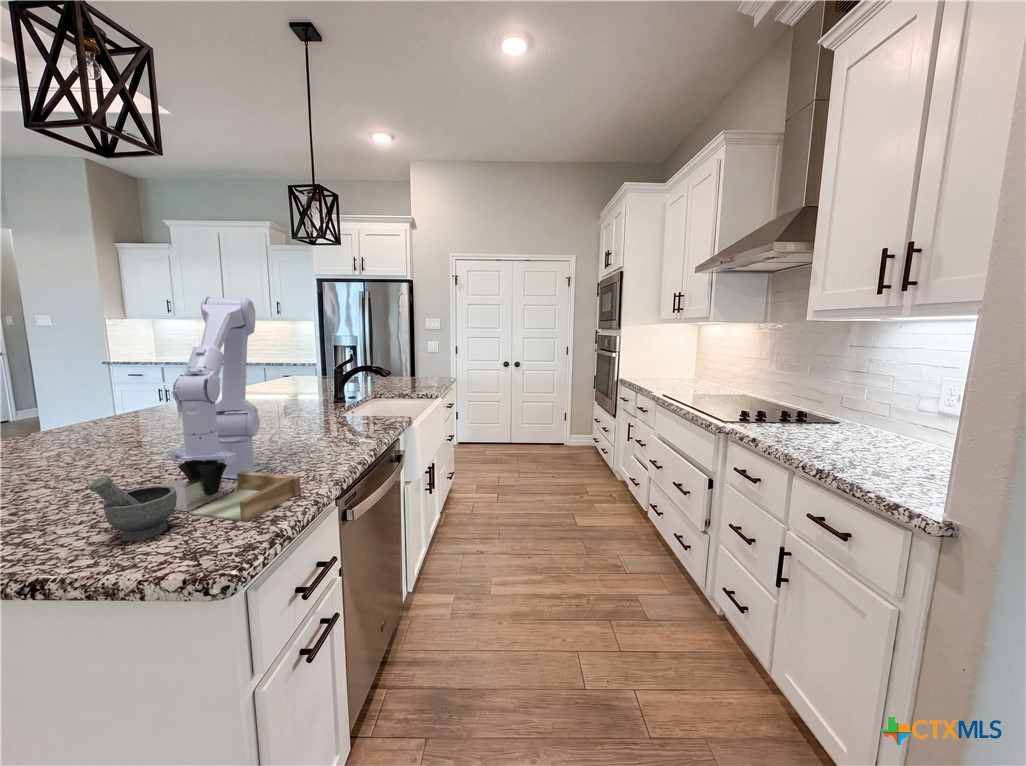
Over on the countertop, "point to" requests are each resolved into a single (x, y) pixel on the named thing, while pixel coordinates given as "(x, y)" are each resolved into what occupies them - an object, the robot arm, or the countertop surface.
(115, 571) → the countertop surface
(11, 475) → the countertop surface
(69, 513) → the countertop surface
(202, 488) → the bracket
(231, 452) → the robot arm
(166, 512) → the mortar and pestle
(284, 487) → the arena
